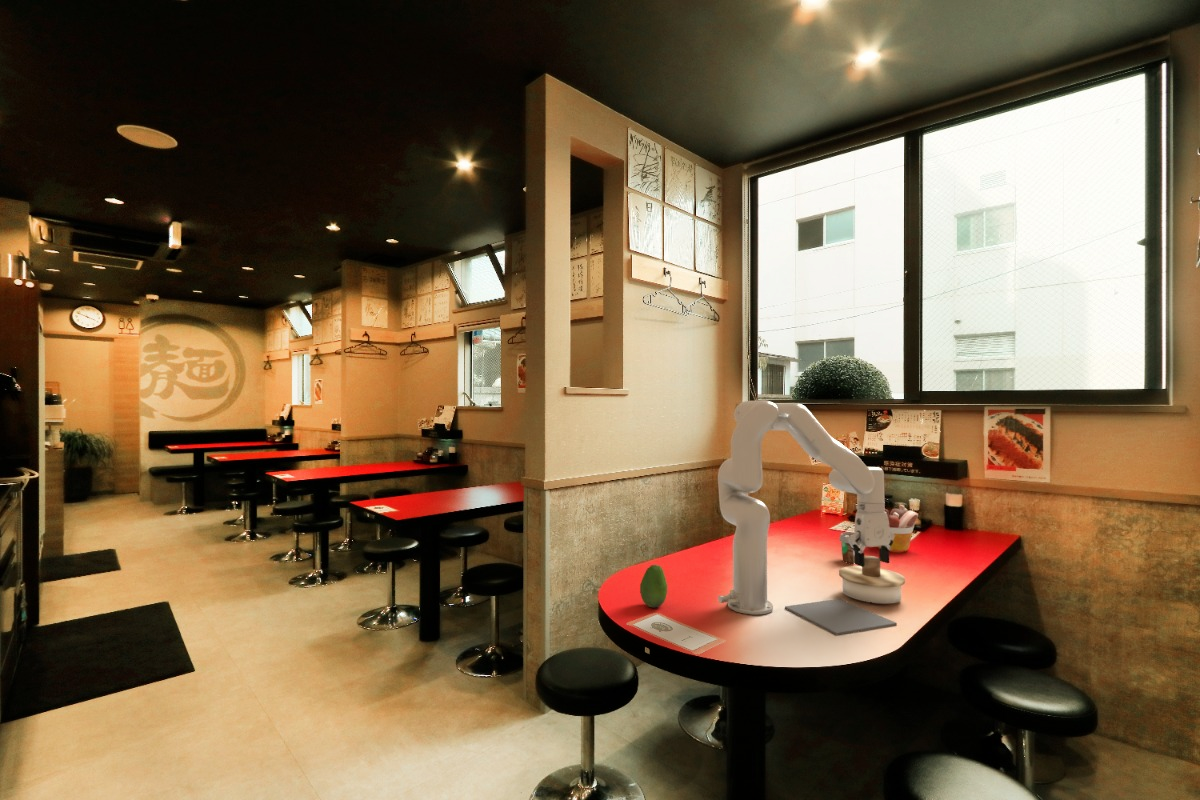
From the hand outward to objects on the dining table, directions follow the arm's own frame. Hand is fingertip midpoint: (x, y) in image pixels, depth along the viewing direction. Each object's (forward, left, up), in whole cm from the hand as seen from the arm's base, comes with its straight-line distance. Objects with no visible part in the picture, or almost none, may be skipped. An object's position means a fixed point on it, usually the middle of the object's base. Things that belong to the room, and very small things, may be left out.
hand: (872, 563), depth 167 cm
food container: (+25, +35, -11) cm, 44 cm away
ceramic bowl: (0, 0, -10) cm, 10 cm away
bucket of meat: (+55, +43, -11) cm, 70 cm away
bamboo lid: (0, 0, -4) cm, 4 cm away
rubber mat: (-21, -9, -10) cm, 25 cm away
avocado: (-66, +15, -10) cm, 69 cm away
